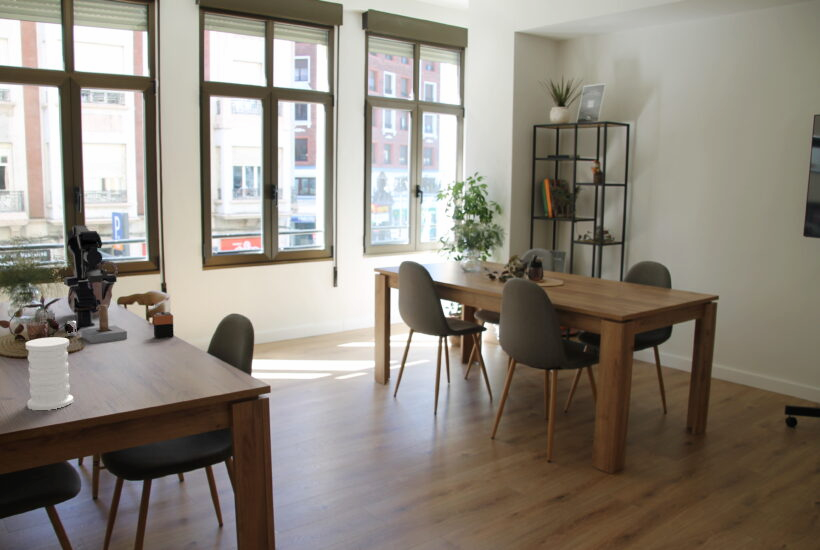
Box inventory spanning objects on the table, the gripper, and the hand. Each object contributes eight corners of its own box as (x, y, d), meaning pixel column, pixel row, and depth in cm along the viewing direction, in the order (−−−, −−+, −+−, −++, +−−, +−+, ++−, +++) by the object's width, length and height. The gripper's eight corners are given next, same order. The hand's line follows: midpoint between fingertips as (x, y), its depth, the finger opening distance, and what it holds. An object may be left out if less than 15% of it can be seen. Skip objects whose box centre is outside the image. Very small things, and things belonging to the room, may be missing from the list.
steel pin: (66, 336, 280) (66, 321, 279) (75, 335, 282) (74, 320, 281) (69, 337, 277) (68, 322, 276) (77, 336, 279) (77, 321, 278)
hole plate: (81, 337, 278) (81, 329, 278) (115, 332, 287) (115, 325, 287) (92, 343, 269) (92, 335, 268) (127, 338, 277) (126, 331, 277)
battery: (173, 337, 281) (173, 312, 280) (156, 339, 278) (155, 314, 276) (171, 335, 285) (170, 310, 284) (153, 336, 282) (153, 312, 280)
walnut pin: (98, 338, 277) (96, 305, 275) (103, 336, 280) (102, 304, 278) (104, 339, 276) (103, 306, 274) (110, 337, 279) (109, 305, 277)
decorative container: (31, 413, 192) (27, 348, 189) (24, 401, 201) (20, 340, 198) (77, 406, 198) (74, 343, 196) (69, 395, 208) (66, 335, 205)
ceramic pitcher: (71, 312, 325) (69, 258, 322) (121, 310, 331) (119, 257, 328) (65, 320, 309) (63, 263, 305) (118, 318, 315) (115, 262, 311)
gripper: (70, 265, 269) (72, 306, 271) (120, 262, 282) (122, 301, 284) (62, 263, 278) (64, 302, 280) (111, 260, 290) (112, 297, 292)
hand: (91, 301), depth 284 cm, fingers open, 9 cm apart
